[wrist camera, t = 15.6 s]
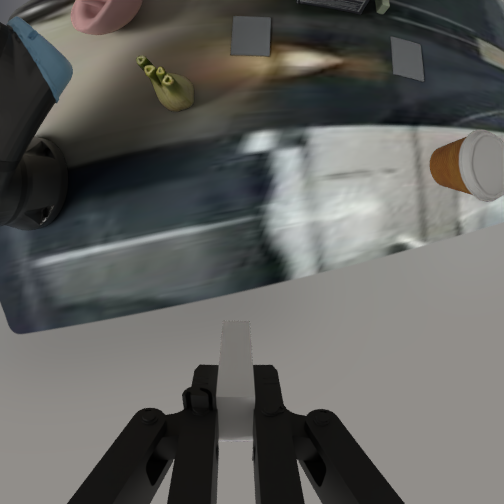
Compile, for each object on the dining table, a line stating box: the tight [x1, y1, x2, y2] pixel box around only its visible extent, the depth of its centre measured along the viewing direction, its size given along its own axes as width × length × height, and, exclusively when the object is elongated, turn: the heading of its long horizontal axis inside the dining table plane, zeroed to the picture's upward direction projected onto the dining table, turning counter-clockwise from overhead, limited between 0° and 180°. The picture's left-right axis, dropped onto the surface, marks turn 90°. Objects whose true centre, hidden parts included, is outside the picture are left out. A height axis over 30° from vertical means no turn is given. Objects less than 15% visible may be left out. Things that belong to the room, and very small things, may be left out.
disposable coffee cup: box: [430, 130, 504, 202], centre depth 37 cm, size 10×10×12 cm
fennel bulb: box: [136, 56, 194, 112], centre depth 35 cm, size 6×5×12 cm
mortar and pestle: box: [71, 0, 143, 35], centre depth 32 cm, size 12×12×12 cm
